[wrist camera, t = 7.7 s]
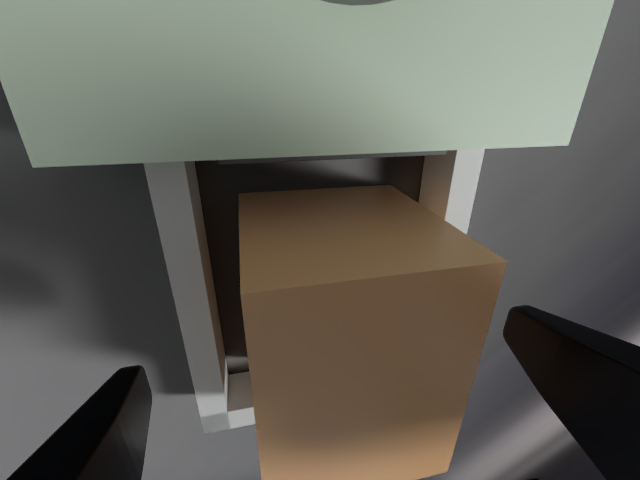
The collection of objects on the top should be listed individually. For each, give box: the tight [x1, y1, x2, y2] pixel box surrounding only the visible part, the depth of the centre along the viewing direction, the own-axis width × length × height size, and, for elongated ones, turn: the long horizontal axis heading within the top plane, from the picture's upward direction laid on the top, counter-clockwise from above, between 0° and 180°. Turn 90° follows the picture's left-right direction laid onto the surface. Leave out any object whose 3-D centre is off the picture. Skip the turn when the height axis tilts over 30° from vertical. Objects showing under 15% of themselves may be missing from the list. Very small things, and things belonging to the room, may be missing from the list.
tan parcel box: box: [238, 185, 508, 480], centre depth 9 cm, size 6×4×5 cm
